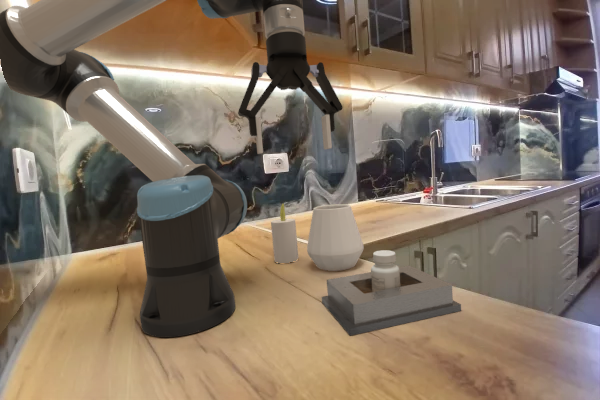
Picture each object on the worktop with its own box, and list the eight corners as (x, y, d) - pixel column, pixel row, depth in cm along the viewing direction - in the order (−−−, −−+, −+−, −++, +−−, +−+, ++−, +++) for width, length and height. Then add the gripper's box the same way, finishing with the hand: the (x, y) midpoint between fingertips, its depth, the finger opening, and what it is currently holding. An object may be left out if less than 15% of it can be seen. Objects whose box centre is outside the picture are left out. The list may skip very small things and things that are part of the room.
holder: (350, 335, 43) (348, 307, 43) (321, 302, 55) (320, 279, 54) (461, 310, 48) (460, 284, 47) (413, 284, 59) (412, 263, 59)
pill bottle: (395, 293, 53) (393, 248, 52) (405, 304, 49) (402, 255, 48) (369, 295, 53) (366, 250, 52) (377, 307, 49) (374, 257, 48)
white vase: (325, 254, 85) (321, 203, 84) (373, 259, 77) (370, 202, 76) (297, 270, 74) (291, 210, 73) (349, 277, 66) (344, 211, 65)
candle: (288, 255, 87) (284, 201, 86) (303, 259, 82) (298, 202, 81) (269, 260, 83) (264, 204, 82) (283, 265, 78) (278, 205, 77)
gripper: (217, 27, 53) (230, 154, 55) (354, 31, 59) (361, 145, 61) (217, 45, 61) (229, 156, 62) (339, 46, 67) (346, 148, 69)
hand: (294, 151), depth 62 cm, fingers open, 13 cm apart
